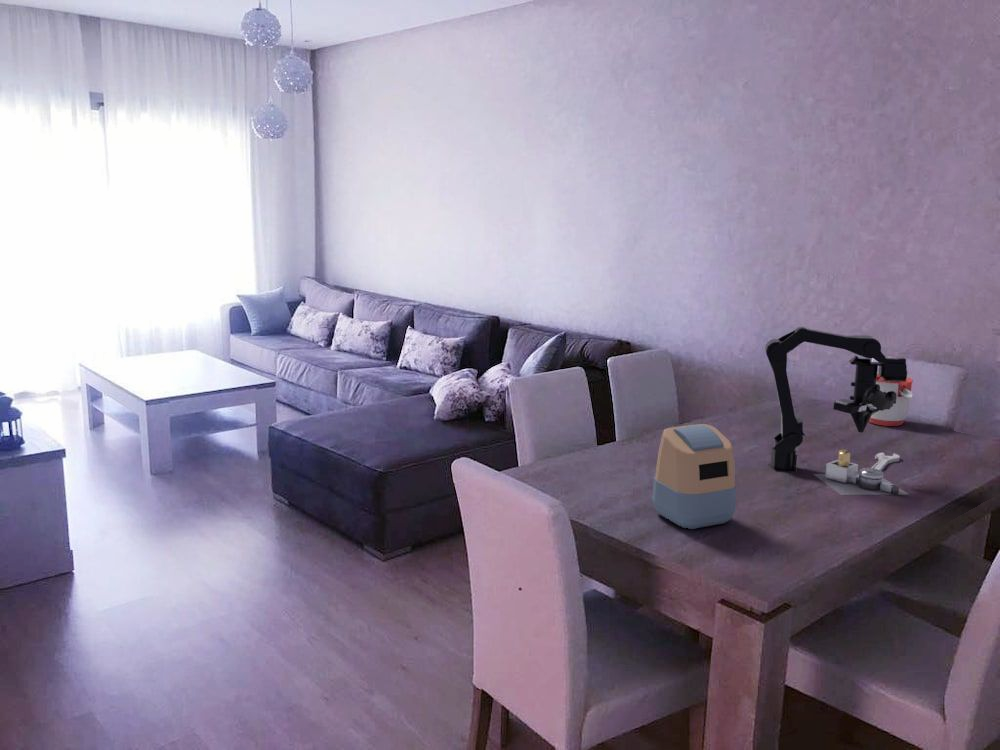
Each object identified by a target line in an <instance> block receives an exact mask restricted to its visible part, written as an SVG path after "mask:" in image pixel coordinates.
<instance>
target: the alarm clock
mask: <svg viewBox="0 0 1000 750" xmlns="http://www.w3.org/2000/svg"><path fill="white" fill-rule="evenodd" d="M660 439H661V440H660V442H659V443H660V444H659V448H658V453H657V461H656V468H655V475H654V477H653V486H652V499H651V502H652V505H653V507H654V509H655V510H656V511H657V513H658V514H659V515H660V516H661V517H663V518H665V519H667V520H668V519H669V521H670V522H672V523H674V524H675V525H677V526H679V527H680V526H681V527H680V528H684V529H686V528H688V529H687V530H695V529H698V528H699V529H700V528H704V527H710V526H714V525H715V526H717V525H723V524H725V523H727V522H729V521H730V520H731V519H732V518H733V516H734V513H735V511H736V498H737V494H736V493H737V485H736V479H735V478H736V475H735V474H736V473H735V471H736V470H735V466H736V465H735V454H734V448H733V444H732V443H731V441H730V440H729V439H728V438H727V437H726V436H724V435H723V434H722V432H720V431H719V430H718V429H717V428H716V427H714V426H713V425H710V424H706V423H698V424H697V423H696V424H690V425H682V426H681V425H680V426H673V427H668V428H664V430H663V431H662V433H661V438H660Z"/></svg>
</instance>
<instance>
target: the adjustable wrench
mask: <svg viewBox="0 0 1000 750" xmlns="http://www.w3.org/2000/svg"><path fill="white" fill-rule="evenodd" d="M900 458H901V457H900V455H899V454H897V453H894V452H893V453H892V455H886V454H885V452H878V453H876V454H875V455H874V460H877V462H876V463H874V464H873V466H871V468H873V469H878V470H881V471H883V470H884V469H885V468H886V466H888V465H889V464H892V463H896V462H899V461H900Z"/></svg>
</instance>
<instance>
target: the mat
mask: <svg viewBox="0 0 1000 750" xmlns="http://www.w3.org/2000/svg"><path fill="white" fill-rule="evenodd" d="M857 475H859V473H858V474H857ZM813 476H815V477H816V478H817V479H819V480H820V481H822V482H823V483H824V484H825V485H826V486H828V487H829V488H831V489H832V490H833V491H835V492H836V493H837V494H839V495H840V496H877V495H879V496H881V495H882V496H883V495H884V496H885V495H887V496H888V495H891V496H893V495H894V496H895V495H896V496H897V495H901V496H902V495H909V493H908V492H907V491H906V490H903V489H902V488H900V487H899V493H898V494H894V493H890V492H886V491H883V490H879V491H870V490H865V489H862V488H860V487H858V483H856V484H855V483H851V482H848V483H843V482H840V481H836V480H832V479H829V478H825V477H826V473H813ZM884 482H886V483H889V484H893V485H895V484H894V483H892V481H890V480H887V479H886V478H884V477H883V480H882V483H884Z"/></svg>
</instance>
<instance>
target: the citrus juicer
mask: <svg viewBox="0 0 1000 750" xmlns="http://www.w3.org/2000/svg"><path fill="white" fill-rule="evenodd" d="M913 382H914V379H913V378H910V377H908V376H907V378H906V381H905V382H898V381H883V379H882V377H879V373H877V380H876V384H879V386H880V391H882V392H886V393H887V392H889V391H894V392H895V393H896V398H897V399H896V404H893V407H891V408H890V409H889V410H888V409H886V410H883V411H881V410H879V411H878V412H876V413H874V414H872V415H871V417H870V419H869V421H868V423H871V424H874V425H880V426H882V427H886V426H887V427H898V426H902V425H903V423H904V422H905V421H906V418H907V415H908V413H909V410H910V404H911V399H912V397H913V396H914V394H913V392H912V387H913ZM875 409H876V407H875Z"/></svg>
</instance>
